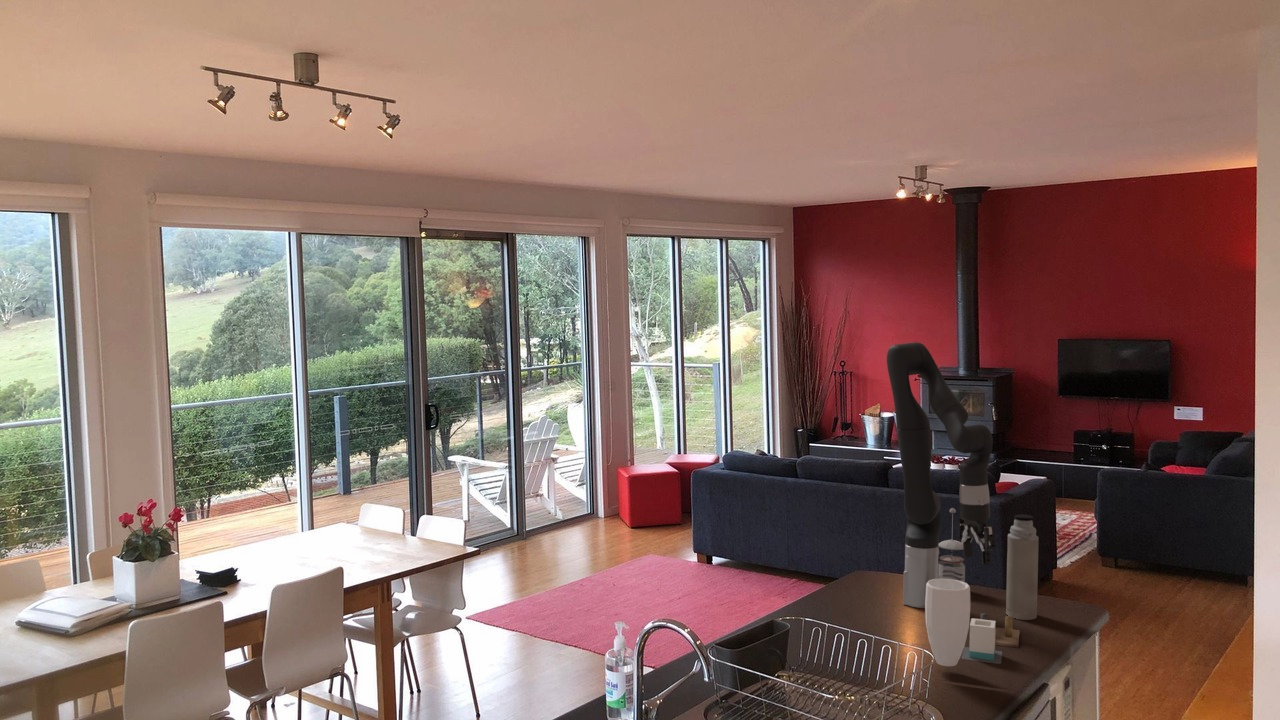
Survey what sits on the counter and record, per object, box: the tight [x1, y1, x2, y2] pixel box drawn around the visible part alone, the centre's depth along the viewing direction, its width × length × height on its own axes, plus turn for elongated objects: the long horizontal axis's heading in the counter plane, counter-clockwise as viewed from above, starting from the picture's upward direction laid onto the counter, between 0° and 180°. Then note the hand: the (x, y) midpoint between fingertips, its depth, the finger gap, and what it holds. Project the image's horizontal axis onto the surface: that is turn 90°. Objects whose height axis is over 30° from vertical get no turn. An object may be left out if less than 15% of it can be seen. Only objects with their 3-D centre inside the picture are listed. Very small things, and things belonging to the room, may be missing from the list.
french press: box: [938, 507, 966, 583], centre depth 296 cm, size 10×12×25 cm
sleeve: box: [968, 617, 996, 661], centre depth 241 cm, size 6×6×8 cm
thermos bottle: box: [1005, 514, 1040, 621], centre depth 272 cm, size 8×8×28 cm
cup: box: [924, 579, 971, 667], centre depth 229 cm, size 10×10×22 cm
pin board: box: [979, 612, 1021, 648], centre depth 254 cm, size 11×12×6 cm
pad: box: [960, 646, 1003, 665], centre depth 241 cm, size 9×9×1 cm
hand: (977, 560), depth 262 cm, fingers open, 8 cm apart
